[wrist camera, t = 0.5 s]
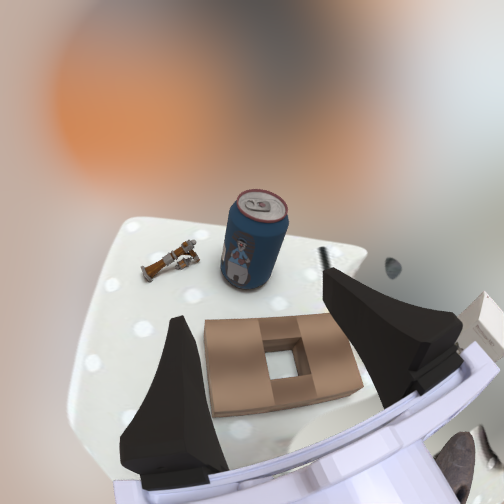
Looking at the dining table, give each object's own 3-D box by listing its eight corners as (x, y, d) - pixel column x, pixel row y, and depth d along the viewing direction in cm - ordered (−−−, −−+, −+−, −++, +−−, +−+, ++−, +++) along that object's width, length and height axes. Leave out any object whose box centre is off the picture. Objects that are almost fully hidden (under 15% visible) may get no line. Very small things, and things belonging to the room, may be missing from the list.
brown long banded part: (207, 259, 38) (196, 241, 35) (159, 290, 37) (143, 275, 33) (202, 251, 39) (190, 232, 35) (155, 281, 38) (139, 265, 34)
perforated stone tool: (436, 432, 25) (473, 416, 20) (457, 442, 24) (493, 428, 19) (394, 529, 15) (433, 531, 10) (420, 534, 14) (459, 534, 9)
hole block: (349, 395, 29) (363, 386, 26) (212, 417, 25) (214, 411, 22) (327, 325, 35) (338, 312, 33) (203, 334, 31) (205, 319, 29)
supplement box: (417, 365, 33) (477, 317, 24) (433, 336, 37) (484, 288, 28) (446, 394, 29) (508, 354, 20) (459, 363, 33) (513, 320, 24)
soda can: (265, 256, 42) (286, 189, 34) (272, 294, 37) (299, 227, 29) (219, 253, 41) (230, 183, 32) (220, 292, 36) (232, 221, 28)
